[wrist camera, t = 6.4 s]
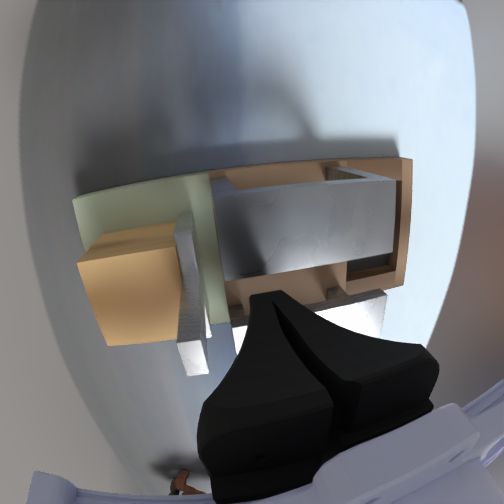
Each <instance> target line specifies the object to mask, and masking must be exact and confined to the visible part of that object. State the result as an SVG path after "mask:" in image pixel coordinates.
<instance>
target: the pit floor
mask: <svg viewBox="0 0 504 504" xmlns="http://www.w3.org/2000/svg"><path fill="white" fill-rule="evenodd" d="M388 259H389V253H386V254H381V255H375V256H370V257H365V258H360V259H354V260H349V261H347V272H346V273H350V272H355V271H360V270H365V269H370V268H375V267H380V266H384V265H388Z"/></svg>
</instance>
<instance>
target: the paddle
mask: <svg viewBox="0 0 504 504" xmlns="http://www.w3.org/2000/svg"><path fill="white" fill-rule="evenodd" d="M174 238H175V243H176V248H177V254H178V258H179V263H180V268H181V273H182V286H181V296H180V307H179V318H178V331H177V346H178V349H179V352H180V355H181V358H182V361H183V364H184V367H185V370H186V373H187V376H193V375H201V374H208V373H209V366H208V353H207V338H210V337H212V334H211V323H210V311H209V301H208V295H207V290H206V285H205V279H204V274H203V269H202V263H201V257H200V252H199V246H198V240H197V234H196V228H195V221H194V215H193V211H192V212H186V213H179V216H178V219H177V223H176V226H175V230H174Z"/></svg>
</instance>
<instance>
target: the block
mask: <svg viewBox="0 0 504 504" xmlns="http://www.w3.org/2000/svg"><path fill="white" fill-rule="evenodd" d="M176 223H177V221H175V222H169V223H163V224H157V225H151V226H145V227H139V228H134V229H128V230H123V231H117V232H112V233H107V234H102V236H101V237H100V238H99V239H98V240H97V241H96V242H95V243H94V244H93V245H92V246H91V247H90V248H89V250H88V251H87V252H86V253H85V254H84V255H83V256H82V257H81V259H80V260H79V261H78V262H77V265H78V269H79V272H80V275H81V278H82V281H83V284H84V287H85V289H86V292H87V295H88V298H89V301H90V303H91V306H92V309H93V311H94V314H95V316H96V319H97V321H98V324H99V326H100V329H101V331H102V333H103V336H104V338H105V340H106V342H107V345H108V346H115V345H127V344H137V343H147V342H156V341H165V340H173V339H177V331H178V318H179V307H180V296H181V286H182V273H181V268H180V263H179V258H178V254H177V248H176V243H175V238H174V230H175V226H176Z"/></svg>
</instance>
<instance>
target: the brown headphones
mask: <svg viewBox="0 0 504 504" xmlns="http://www.w3.org/2000/svg"><path fill="white" fill-rule="evenodd" d="M188 476H189V471H188V470H181V471H180V473H178V474H177V477H175V478H173V480H172V482H171V485H170V489H171V493H170V494H169V495H179V491H184V492H183V493H182V495H196V494H206V493H204V492H202V491H198V490H196V489H195V488H193V487H191V486H188V485H186V480H187V478H188Z"/></svg>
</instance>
